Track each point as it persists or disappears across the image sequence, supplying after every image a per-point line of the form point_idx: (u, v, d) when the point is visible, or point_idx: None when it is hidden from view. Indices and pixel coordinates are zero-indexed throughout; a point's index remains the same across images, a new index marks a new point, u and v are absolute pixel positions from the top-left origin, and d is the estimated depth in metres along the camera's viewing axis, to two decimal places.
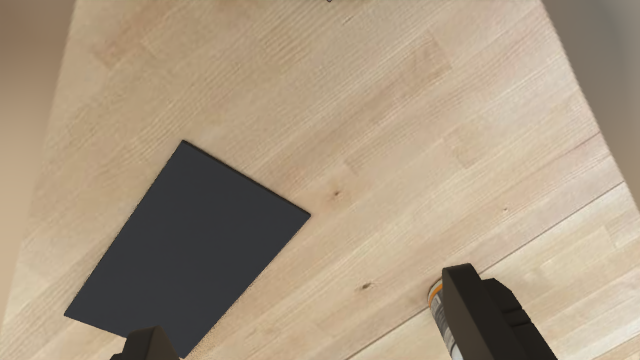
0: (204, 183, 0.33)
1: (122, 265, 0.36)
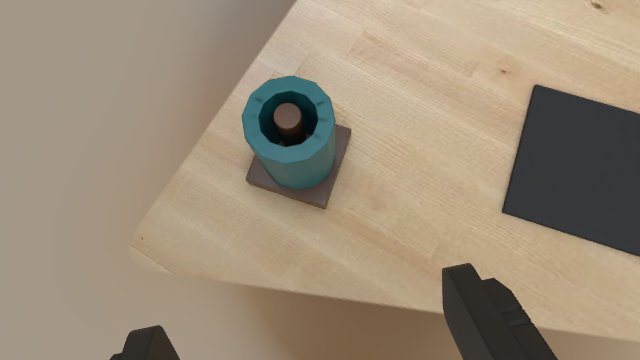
0: (538, 184, 0.35)
1: None
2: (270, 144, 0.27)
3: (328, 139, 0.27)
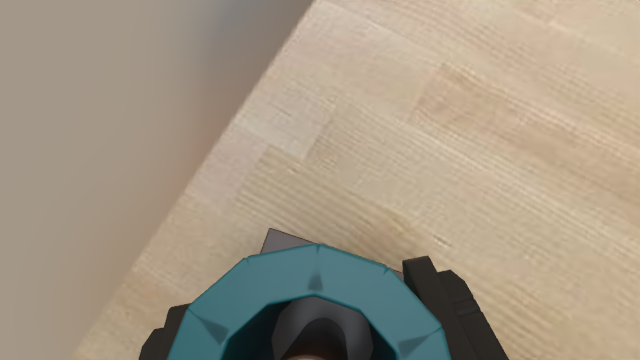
0: None
1: None
2: None
3: None
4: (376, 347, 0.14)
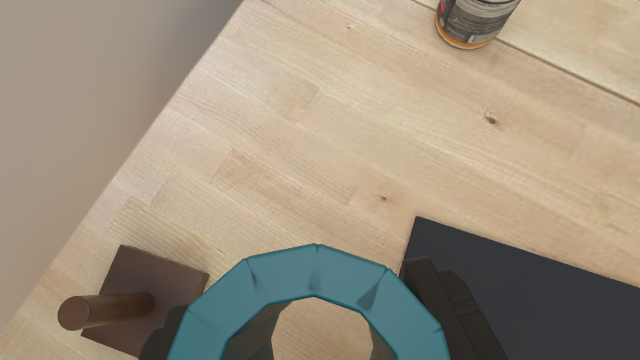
0: None
1: None
2: None
3: None
4: (376, 347, 0.14)
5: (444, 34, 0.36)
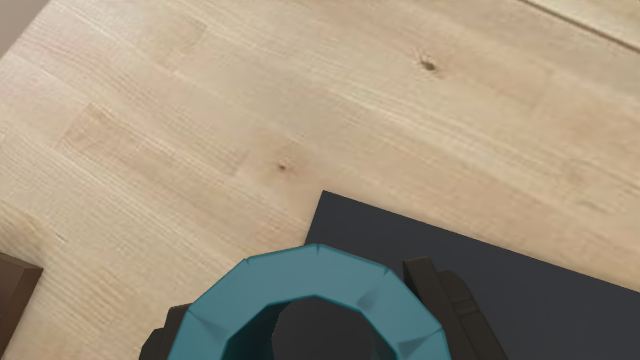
0: (308, 356, 0.22)
1: None
2: None
3: None
4: (376, 347, 0.14)
5: None
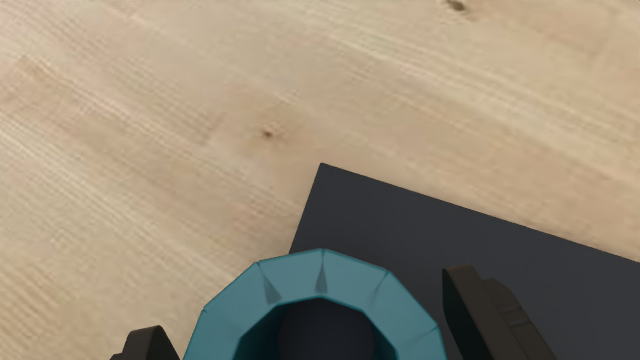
0: None
1: None
2: None
3: None
4: (377, 345, 0.15)
5: None
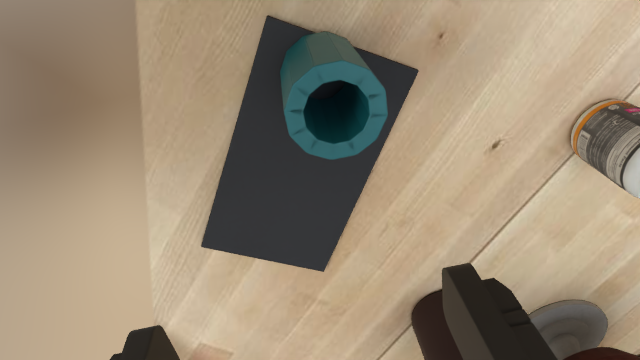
0: None
1: (242, 178, 0.35)
2: (306, 95, 0.24)
3: (311, 153, 0.26)
4: (324, 107, 0.31)
5: (598, 108, 0.35)
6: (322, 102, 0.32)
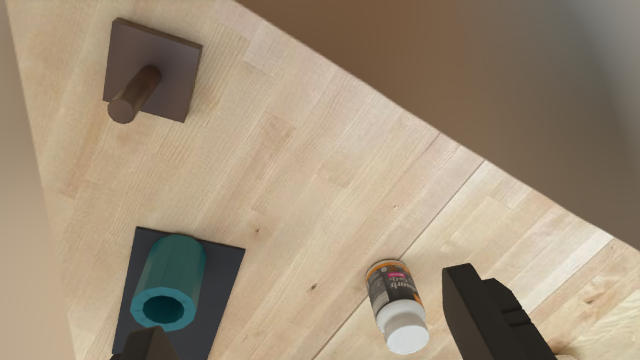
0: None
1: None
2: (142, 303, 0.40)
3: None
4: None
5: (376, 267, 0.51)
6: None
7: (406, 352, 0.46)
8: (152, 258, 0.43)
